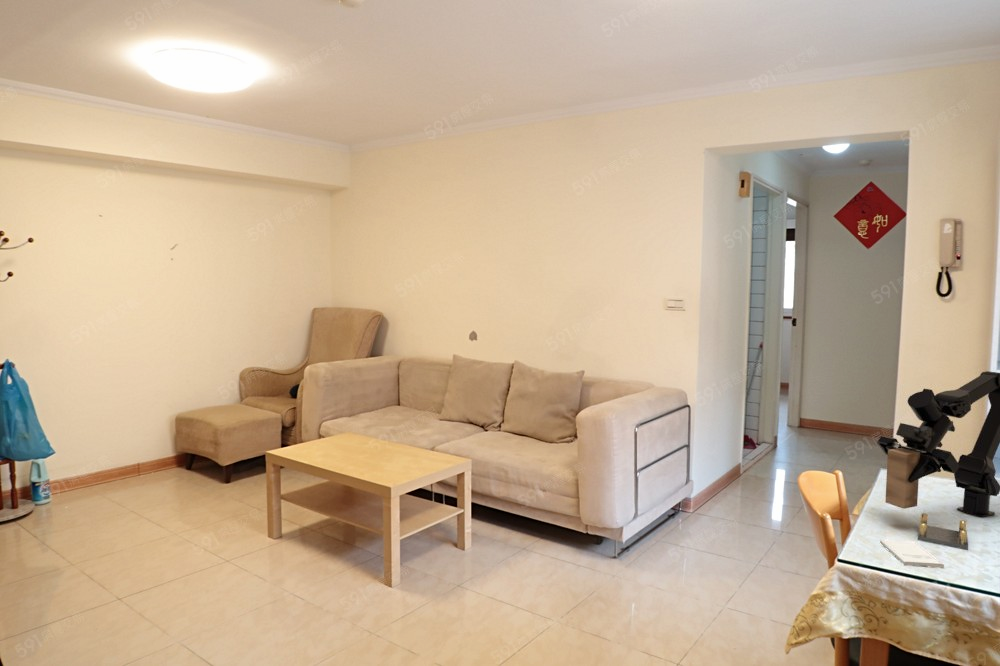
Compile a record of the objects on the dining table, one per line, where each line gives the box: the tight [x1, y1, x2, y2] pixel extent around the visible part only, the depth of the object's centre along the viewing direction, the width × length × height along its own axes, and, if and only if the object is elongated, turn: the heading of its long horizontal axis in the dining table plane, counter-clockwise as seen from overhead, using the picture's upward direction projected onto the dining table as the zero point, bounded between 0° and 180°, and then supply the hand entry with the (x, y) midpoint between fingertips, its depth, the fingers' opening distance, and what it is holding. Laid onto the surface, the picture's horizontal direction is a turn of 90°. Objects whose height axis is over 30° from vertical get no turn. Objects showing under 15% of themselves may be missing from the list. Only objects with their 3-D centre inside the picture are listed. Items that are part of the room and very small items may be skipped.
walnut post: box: [884, 448, 920, 510], centre depth 165 cm, size 5×5×14 cm
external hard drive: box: [879, 538, 945, 569], centre depth 148 cm, size 2×8×12 cm
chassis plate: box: [916, 513, 969, 551], centre depth 158 cm, size 10×10×4 cm
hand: (899, 478), depth 164 cm, fingers closed on walnut post, 5 cm apart
